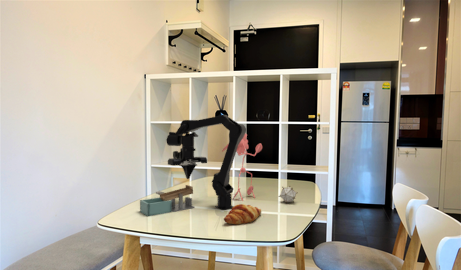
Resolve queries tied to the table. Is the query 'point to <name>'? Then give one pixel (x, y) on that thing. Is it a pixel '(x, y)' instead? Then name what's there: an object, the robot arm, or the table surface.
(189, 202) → the stand
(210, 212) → the table surface
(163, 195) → the lever
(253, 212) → the croissant
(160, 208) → the bin
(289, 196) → the grey spiked polyhedron
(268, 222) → the table surface
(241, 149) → the figurine
